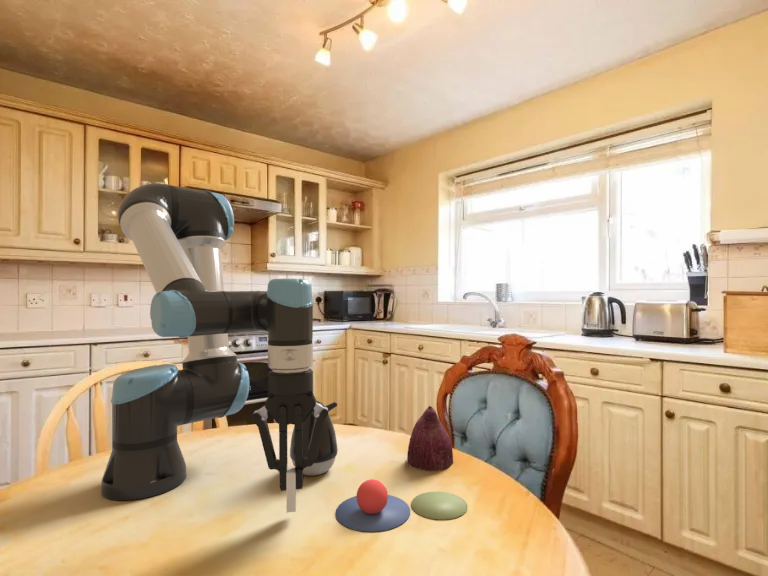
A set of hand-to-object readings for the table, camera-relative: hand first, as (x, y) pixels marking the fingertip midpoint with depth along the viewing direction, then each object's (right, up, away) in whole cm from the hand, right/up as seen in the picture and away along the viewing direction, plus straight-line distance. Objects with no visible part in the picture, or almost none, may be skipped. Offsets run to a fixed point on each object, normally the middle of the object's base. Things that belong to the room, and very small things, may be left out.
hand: (291, 508), depth 73 cm
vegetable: (+26, -2, +25) cm, 36 cm away
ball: (+14, +1, +2) cm, 14 cm away
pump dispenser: (+1, -3, +20) cm, 21 cm away
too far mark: (+26, -2, +4) cm, 26 cm away
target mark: (+14, -2, +2) cm, 14 cm away
